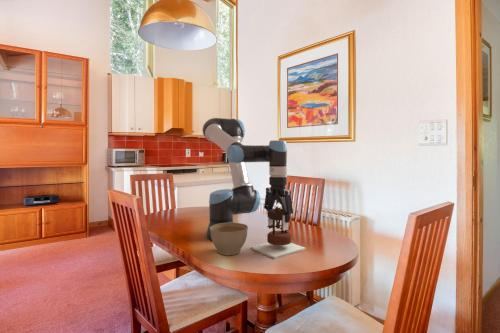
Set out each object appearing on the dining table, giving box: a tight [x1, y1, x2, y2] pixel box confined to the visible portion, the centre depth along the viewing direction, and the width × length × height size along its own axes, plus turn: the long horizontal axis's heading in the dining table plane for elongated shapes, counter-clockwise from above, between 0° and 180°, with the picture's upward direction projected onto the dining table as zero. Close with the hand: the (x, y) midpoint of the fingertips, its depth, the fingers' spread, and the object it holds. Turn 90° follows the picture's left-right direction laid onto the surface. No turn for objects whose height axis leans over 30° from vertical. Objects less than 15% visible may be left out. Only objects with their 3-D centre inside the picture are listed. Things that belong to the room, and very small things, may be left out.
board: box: [250, 241, 307, 259], centre depth 131 cm, size 16×18×1 cm
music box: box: [266, 198, 294, 245], centre depth 130 cm, size 15×11×20 cm
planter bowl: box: [210, 222, 249, 256], centre depth 127 cm, size 16×16×11 cm
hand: (278, 227), depth 130 cm, fingers closed on music box, 9 cm apart
